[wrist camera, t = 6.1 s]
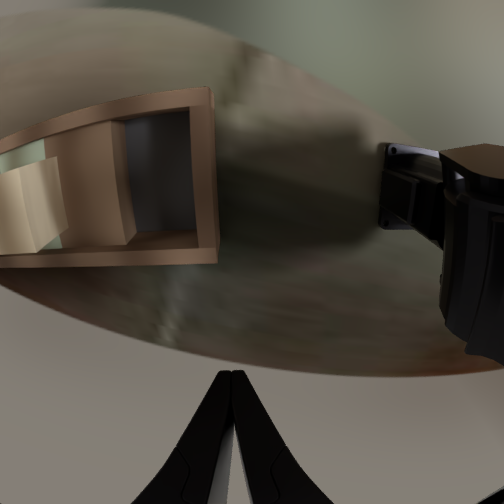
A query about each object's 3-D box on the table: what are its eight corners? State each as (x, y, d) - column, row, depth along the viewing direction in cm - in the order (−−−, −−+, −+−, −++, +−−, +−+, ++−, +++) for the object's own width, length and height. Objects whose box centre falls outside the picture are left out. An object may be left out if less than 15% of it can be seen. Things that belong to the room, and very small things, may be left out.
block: (56, 156, 14) (18, 167, 10) (68, 227, 16) (36, 252, 12) (11, 169, 13) (-25, 183, 10) (23, 232, 16) (-8, 255, 12)
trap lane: (214, 94, 15) (208, 86, 12) (220, 240, 19) (217, 263, 16) (-19, 155, 14) (-43, 163, 11) (0, 251, 19) (-20, 267, 15)
